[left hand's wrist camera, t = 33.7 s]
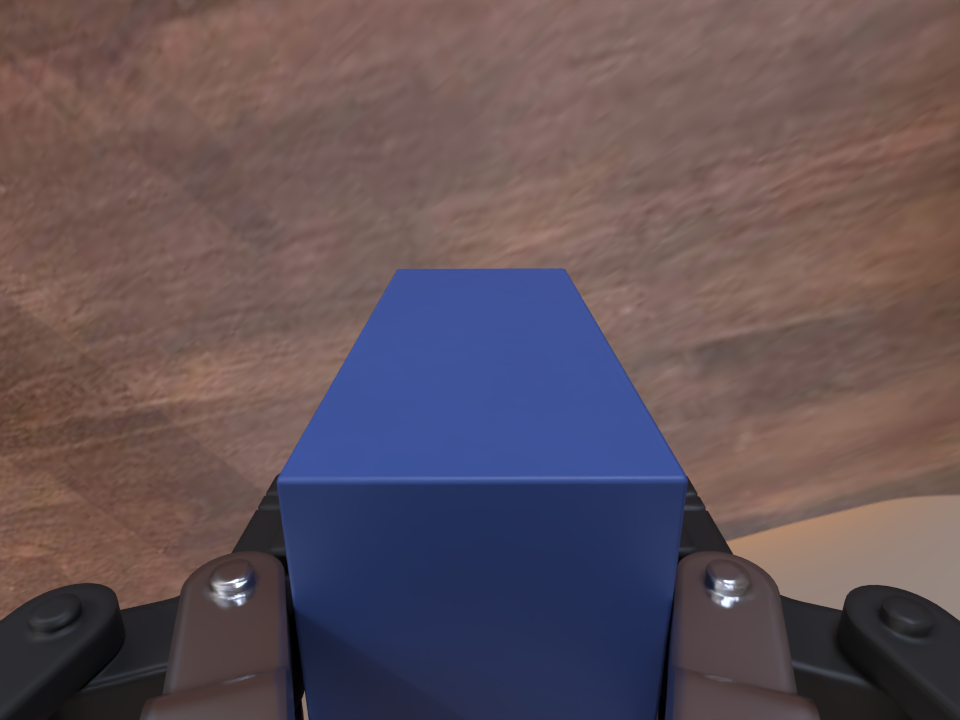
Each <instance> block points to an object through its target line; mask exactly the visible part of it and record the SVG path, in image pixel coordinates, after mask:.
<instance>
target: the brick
mask: <svg viewBox="0 0 960 720" xmlns="http://www.w3.org/2000/svg"><path fill="white" fill-rule="evenodd" d="M687 485H688V479H687V476H686V475H685V473H684V471H683V469H682V468H681V466H680V464H679V463H678V461H677V459H676V458H675V456H674V454H673V452H672V451H671V449H670V447H669V446H668V444H667V442H666V441H665V439H664V437H663V435H662V434H661V432H660V430H659V429H658V427H657V425H656V423H655V422H654V420H653V418H652V417H651V415H650V413H649V412H648V410H647V408H646V406H645V405H644V403H643V401H642V400H641V398H640V396H639V394H638V393H637V391H636V389H635V388H634V386H633V384H632V383H631V381H630V379H629V377H628V376H627V374H626V372H625V371H624V369H623V367H622V366H621V364H620V362H619V360H618V359H617V357H616V355H615V354H614V352H613V350H612V348H611V347H610V345H609V343H608V342H607V340H606V338H605V337H604V335H603V333H602V331H601V330H600V328H599V326H598V325H597V323H596V321H595V320H594V318H593V316H592V314H591V313H590V311H589V309H588V308H587V306H586V304H585V302H584V301H583V299H582V297H581V296H580V294H579V292H578V291H577V289H576V287H575V285H574V284H573V282H572V280H571V279H570V277H569V275H568V274H567V272H566V270H565V269H398V270H397V271H396V273H395V274H394V276H393V278H392V280H391V281H390V283H389V285H388V287H387V288H386V290H385V292H384V294H383V295H382V297H381V299H380V301H379V302H378V304H377V306H376V308H375V309H374V311H373V313H372V315H371V316H370V318H369V320H368V322H367V323H366V325H365V327H364V329H363V330H362V332H361V334H360V336H359V337H358V339H357V341H356V342H355V344H354V346H353V348H352V349H351V351H350V353H349V355H348V356H347V358H346V360H345V362H344V363H343V365H342V367H341V369H340V370H339V372H338V374H337V376H336V377H335V379H334V381H333V383H332V384H331V386H330V388H329V390H328V391H327V393H326V395H325V397H324V398H323V400H322V402H321V404H320V405H319V407H318V409H317V411H316V412H315V414H314V416H313V417H312V419H311V421H310V423H309V424H308V426H307V428H306V430H305V431H304V433H303V435H302V437H301V438H300V440H299V442H298V444H297V445H296V447H295V449H294V451H293V452H292V454H291V456H290V458H289V459H288V461H287V463H286V465H285V466H284V468H283V470H282V472H281V473H280V475H279V477H278V479H277V489H278V496H279V504H280V511H281V518H282V526H283V533H284V541H285V548H286V555H287V563H288V570H289V577H290V585H291V592H292V600H293V607H294V614H295V622H296V629H297V636H298V644H299V651H300V659H301V666H302V673H303V681H304V688H305V695H306V703H307V710H308V717H309V720H657V715H658V708H659V700H660V692H661V685H662V677H663V669H664V662H665V654H666V646H667V639H668V631H669V623H670V616H671V608H672V600H673V593H674V585H675V577H676V570H677V562H678V554H679V547H680V539H681V531H682V524H683V516H684V508H685V501H686V493H687Z"/></svg>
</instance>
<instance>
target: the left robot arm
mask: <svg viewBox="0 0 960 720" xmlns="http://www.w3.org/2000/svg"><path fill="white" fill-rule="evenodd" d="M279 475H280V474H278V475H277V476H276V477H275V479H274V481H273V482H272V484H271V486H270V488H269V489H268V491H267V493H266V496H264V498H263V500H262V501H261V503H260V505H259V506H258V510H256V512H255V513H254V515H253V517H252V519H251V520H250V522H249V524H248V525H247V527H246V529H245V531H244V532H243V534H242V536H241V538H240V539H239V541H238V543H237V544H236V546H235V548H234V550H233V551H232V553H231V554H227V555H224V556H221V557H218V558H216V559H214V560H211V561H209V562H208V563H206V564H204V565H203V566H201V567H200V568H198V569H197V570H196V571H195V572H193V573H192V574H191V575H190V576H189V578H188V579H187V580H186V581H185V583H184V585H183V586H182V589H181V593H180V596H177V597H175V598H171V599H167V600H164V601H159V602H155V603H150V604H146V605H141V606H137V607H132V608H128V609H123V610H120V608H119V604H118V600H117V597H116V594H115V593H114V591H113V590H112V589H110V588H109V587H107V586H104V585H101V584H94V583H82V584H74V585H69V586H64V587H61V588H57V589H54V590H52V591H49V592H46V593H44V594H42V595H39V596H37V597H35V598H33V599H32V600H30V601H28V602H26V603H25V604H23V605H22V606H20V607H19V608H17V609H16V610H14V611H13V612H12V613H10V614H9V615H8V616H6V617H5V618H4V619H2V620H1V621H0V720H304V716H303V707H302V697H303V694H304V691H305V688H304V681H303V673H302V666H301V659H300V651H299V644H298V636H297V629H296V622H295V614H294V607H293V600H292V592H291V585H290V577H289V570H288V563H287V555H286V548H285V541H284V533H283V526H282V518H281V511H280V504H279V496H278V489H277V479H278V477H279ZM687 479H688V485H687V493H686V501H685V508H684V516H683V524H682V531H681V539H680V547H679V554H678V562H677V570H676V577H675V585H674V593H673V600H672V608H671V616H670V623H669V631H668V639H667V646H666V654H665V662H664V669H663V677H662V685H661V692H660V700H659V708H658V715H657V720H960V621H959V620H958V619H956V618H955V617H954V616H952V615H951V614H950V613H948V612H947V611H946V610H944V609H942V608H941V607H940V606H938V605H937V604H935V603H933V602H931V601H929V600H928V599H925V598H923V597H921V596H919V595H917V594H914V593H911V592H909V591H906V590H902V589H899V588H894V587H889V586H882V585H867V586H861V587H858V588H855V589H853V590H852V591H850V592H849V594H848V595H847V596H846V599H845V602H844V606H843V610H838V609H833V608H828V607H824V606H819V605H815V604H810V603H806V602H801V601H798V600H794V599H790V598H788V597H785V596H782V595H780V593H779V590H778V587H777V585H776V583H775V581H774V580H773V579H772V578H771V576H770V575H769V574H768V573H767V572H765V571H764V570H763V569H762V568H760V567H759V566H757V565H756V564H754V563H752V562H751V561H749V560H746V559H744V558H742V557H739V556H736V555H733V553H732V551H731V550H730V548H729V546H728V545H727V543H726V541H725V540H724V538H723V536H722V534H721V533H720V531H719V529H718V528H717V526H716V524H715V523H714V521H713V519H712V517H711V516H710V514H709V512H708V511H706V509H705V508H706V507H705V506H704V504H703V502H702V500H701V499H700V497H698V496H697V492H696V490H695V489H694V487H693V485H692V483H691V482H690V480H689V478H688V477H687Z"/></svg>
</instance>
